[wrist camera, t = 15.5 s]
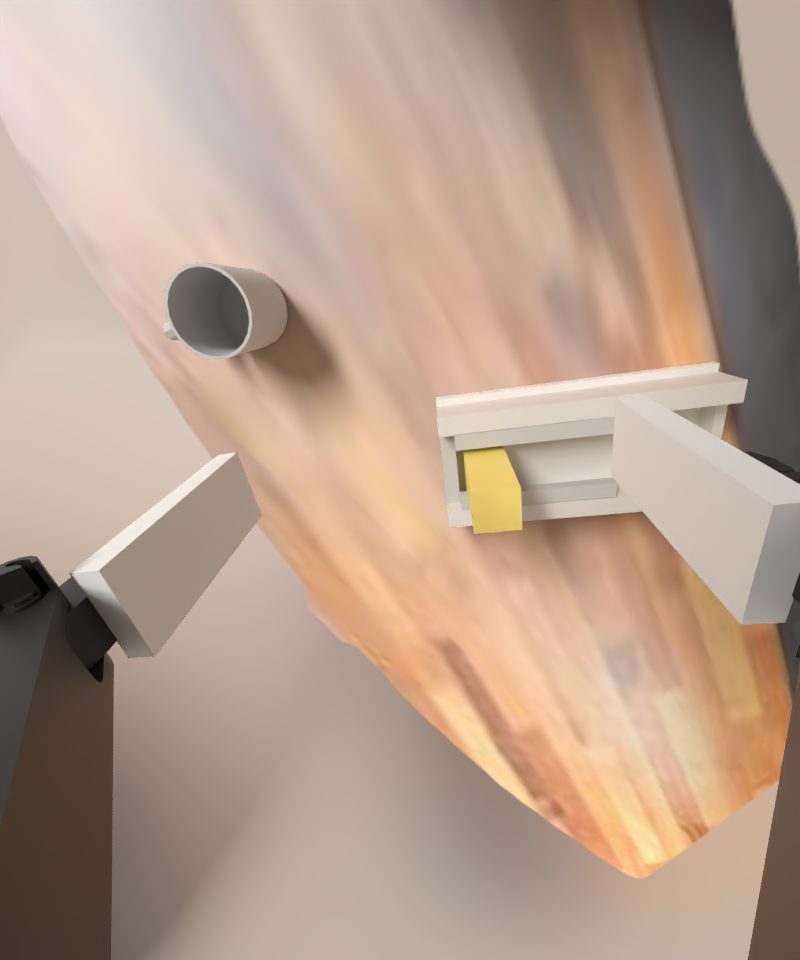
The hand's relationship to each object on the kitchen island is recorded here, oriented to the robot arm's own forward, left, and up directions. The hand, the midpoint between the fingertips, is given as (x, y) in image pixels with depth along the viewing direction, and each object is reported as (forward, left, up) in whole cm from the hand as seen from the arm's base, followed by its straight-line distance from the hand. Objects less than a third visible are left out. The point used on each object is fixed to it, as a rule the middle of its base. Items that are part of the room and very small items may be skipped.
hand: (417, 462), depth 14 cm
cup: (-6, -18, -29) cm, 35 cm away
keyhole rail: (+12, +14, -29) cm, 34 cm away
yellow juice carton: (+12, +4, -28) cm, 31 cm away
